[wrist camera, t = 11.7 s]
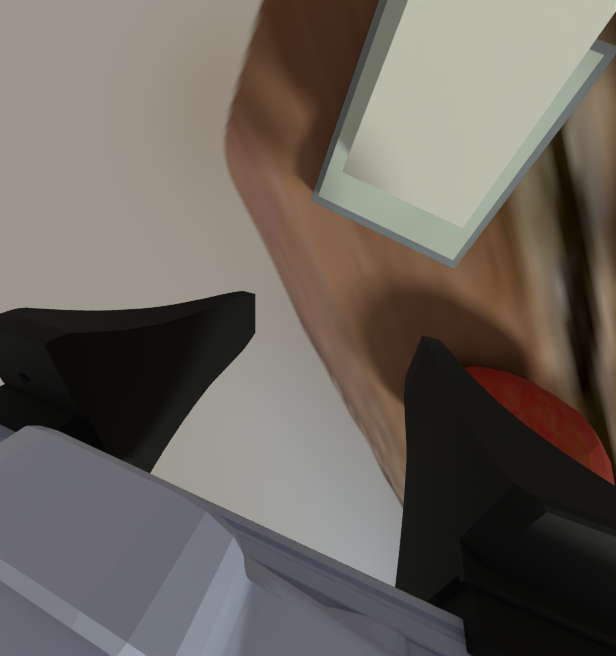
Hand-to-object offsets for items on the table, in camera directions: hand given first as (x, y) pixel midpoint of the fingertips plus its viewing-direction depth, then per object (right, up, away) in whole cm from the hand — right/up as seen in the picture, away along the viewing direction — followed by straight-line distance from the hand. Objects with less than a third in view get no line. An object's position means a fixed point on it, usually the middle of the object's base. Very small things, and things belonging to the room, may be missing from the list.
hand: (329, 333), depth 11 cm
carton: (+5, +10, +2) cm, 11 cm away
